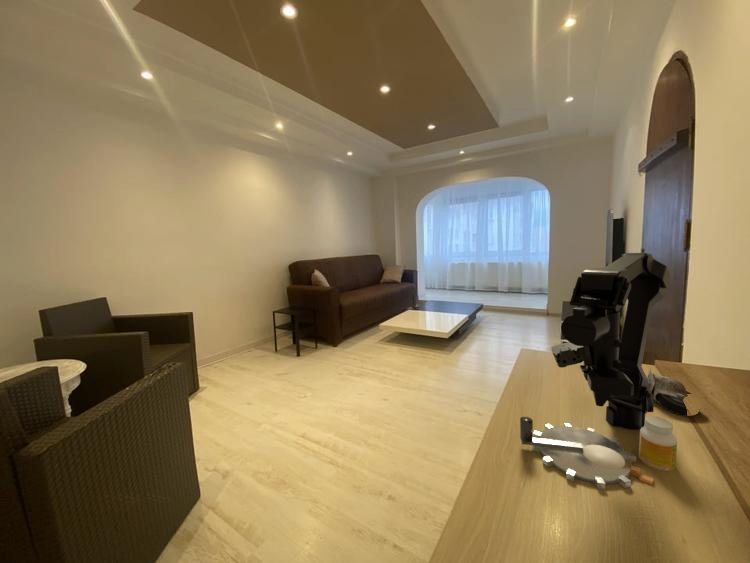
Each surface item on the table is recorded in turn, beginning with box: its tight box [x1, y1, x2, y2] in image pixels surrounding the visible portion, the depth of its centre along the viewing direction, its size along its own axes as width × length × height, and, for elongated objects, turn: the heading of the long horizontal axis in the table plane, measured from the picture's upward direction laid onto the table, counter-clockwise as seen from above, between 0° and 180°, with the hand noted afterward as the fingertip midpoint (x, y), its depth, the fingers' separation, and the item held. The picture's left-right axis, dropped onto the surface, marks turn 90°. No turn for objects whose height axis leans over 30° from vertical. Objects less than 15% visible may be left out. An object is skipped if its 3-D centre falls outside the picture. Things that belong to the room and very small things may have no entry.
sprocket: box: [519, 416, 641, 490], centre depth 65 cm, size 18×20×6 cm
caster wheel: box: [646, 368, 692, 417], centre depth 82 cm, size 7×11×10 cm
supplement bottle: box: [638, 415, 678, 472], centre depth 61 cm, size 5×5×10 cm
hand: (599, 405), depth 64 cm, fingers closed
